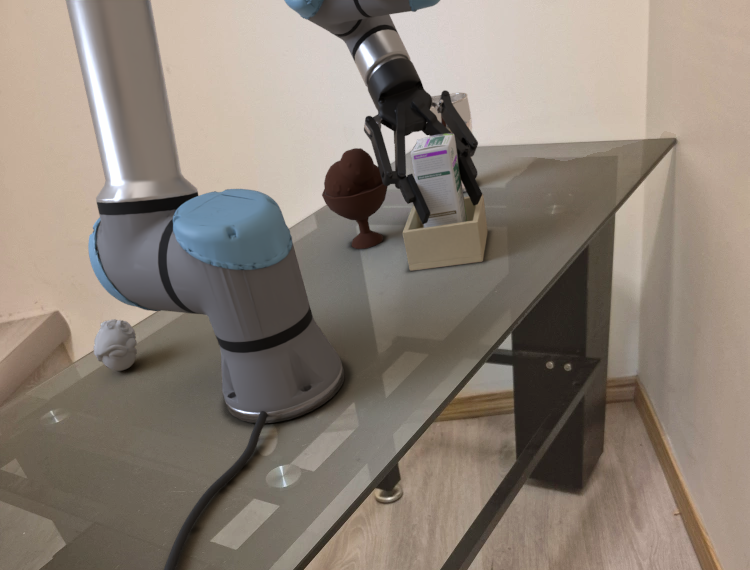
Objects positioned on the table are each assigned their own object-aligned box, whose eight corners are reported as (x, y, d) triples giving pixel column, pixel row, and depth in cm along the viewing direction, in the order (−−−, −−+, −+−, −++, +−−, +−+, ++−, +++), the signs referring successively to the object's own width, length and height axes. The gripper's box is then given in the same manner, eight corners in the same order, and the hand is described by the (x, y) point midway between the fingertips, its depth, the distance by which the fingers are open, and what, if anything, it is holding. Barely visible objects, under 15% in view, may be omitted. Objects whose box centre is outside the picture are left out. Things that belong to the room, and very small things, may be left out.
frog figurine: (155, 354, 109) (136, 311, 104) (129, 380, 104) (107, 336, 100) (123, 354, 111) (102, 312, 107) (96, 380, 106) (73, 337, 102)
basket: (482, 261, 109) (477, 221, 105) (409, 271, 112) (402, 232, 108) (487, 232, 117) (483, 193, 113) (419, 241, 120) (412, 204, 116)
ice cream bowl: (400, 224, 128) (382, 132, 119) (395, 249, 120) (376, 153, 110) (341, 234, 130) (319, 145, 121) (332, 260, 122) (308, 166, 112)
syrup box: (465, 245, 111) (451, 143, 101) (426, 250, 112) (409, 150, 103) (468, 229, 115) (455, 130, 106) (431, 234, 116) (415, 137, 107)
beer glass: (434, 190, 138) (421, 102, 128) (466, 177, 139) (455, 90, 130) (453, 197, 132) (440, 107, 123) (486, 184, 134) (476, 94, 124)
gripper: (445, 72, 115) (507, 200, 113) (324, 112, 112) (385, 245, 110) (456, 35, 107) (522, 172, 105) (326, 77, 104) (391, 218, 102)
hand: (452, 209), depth 107 cm, fingers closed on syrup box, 8 cm apart
